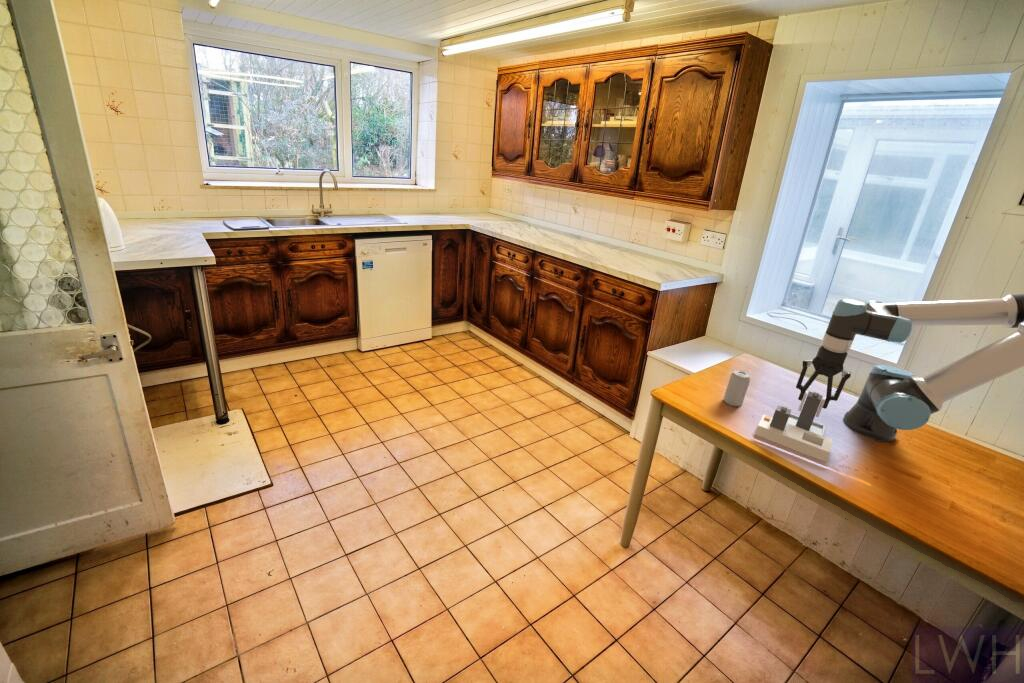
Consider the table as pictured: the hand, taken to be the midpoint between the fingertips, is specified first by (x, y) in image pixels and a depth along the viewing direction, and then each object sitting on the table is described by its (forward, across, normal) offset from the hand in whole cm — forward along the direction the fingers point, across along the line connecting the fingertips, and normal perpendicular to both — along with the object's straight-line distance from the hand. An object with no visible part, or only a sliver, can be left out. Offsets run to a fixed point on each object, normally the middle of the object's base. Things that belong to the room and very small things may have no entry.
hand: (808, 412), depth 157 cm
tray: (+6, 0, 0) cm, 6 cm away
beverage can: (+6, +23, 0) cm, 24 cm away
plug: (+6, 0, 0) cm, 6 cm away
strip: (+6, +2, +13) cm, 15 cm away
